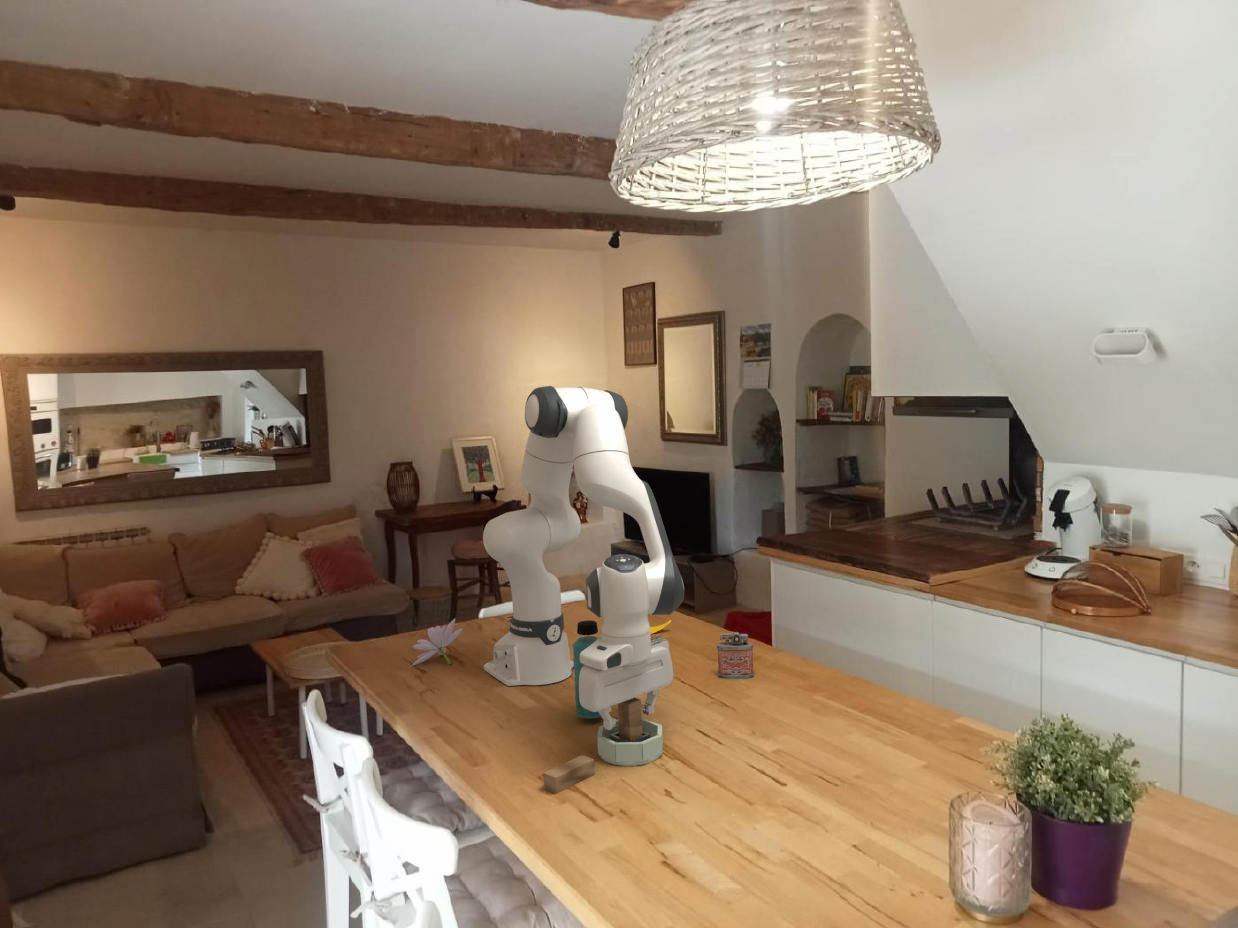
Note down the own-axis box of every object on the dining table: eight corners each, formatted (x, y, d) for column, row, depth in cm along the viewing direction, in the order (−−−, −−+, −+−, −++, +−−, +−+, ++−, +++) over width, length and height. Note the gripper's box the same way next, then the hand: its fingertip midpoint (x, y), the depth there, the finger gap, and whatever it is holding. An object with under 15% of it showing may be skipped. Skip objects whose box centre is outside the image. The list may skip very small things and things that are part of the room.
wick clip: (610, 748, 163) (609, 734, 162) (631, 739, 166) (631, 726, 166) (629, 756, 159) (629, 742, 158) (650, 747, 162) (650, 734, 162)
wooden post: (619, 747, 162) (617, 700, 161) (631, 742, 164) (629, 695, 163) (630, 752, 160) (628, 704, 159) (642, 747, 162) (641, 699, 161)
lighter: (753, 673, 201) (752, 630, 200) (754, 679, 198) (753, 635, 197) (717, 674, 202) (716, 631, 201) (717, 679, 198) (716, 635, 197)
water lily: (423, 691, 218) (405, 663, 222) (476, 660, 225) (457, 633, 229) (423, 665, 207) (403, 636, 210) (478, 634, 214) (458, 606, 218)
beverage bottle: (584, 728, 174) (579, 628, 172) (570, 717, 180) (565, 620, 178) (613, 721, 177) (609, 623, 175) (599, 710, 183) (594, 615, 181)
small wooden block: (582, 771, 156) (582, 754, 156) (595, 776, 154) (594, 759, 154) (544, 789, 150) (543, 772, 149) (556, 795, 147) (555, 777, 147)
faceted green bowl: (586, 752, 163) (585, 731, 162) (632, 733, 171) (631, 713, 170) (628, 772, 154) (627, 749, 154) (676, 751, 162) (675, 729, 161)
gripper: (655, 630, 170) (658, 700, 171) (571, 656, 156) (575, 732, 158) (679, 636, 165) (682, 708, 166) (595, 664, 151) (598, 742, 153)
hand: (629, 720), depth 162 cm, fingers open, 8 cm apart
